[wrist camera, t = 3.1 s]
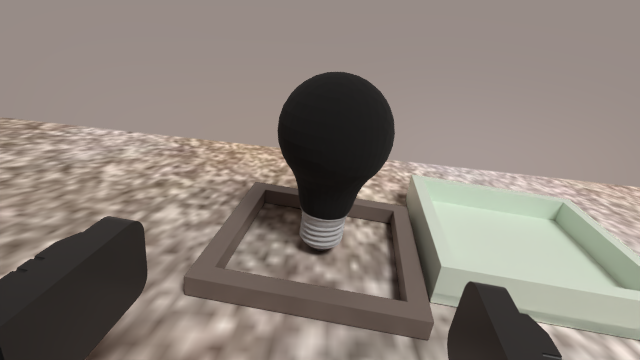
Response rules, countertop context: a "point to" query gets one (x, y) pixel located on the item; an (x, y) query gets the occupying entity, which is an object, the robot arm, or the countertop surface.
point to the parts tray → (525, 254)
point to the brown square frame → (312, 299)
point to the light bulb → (333, 148)
